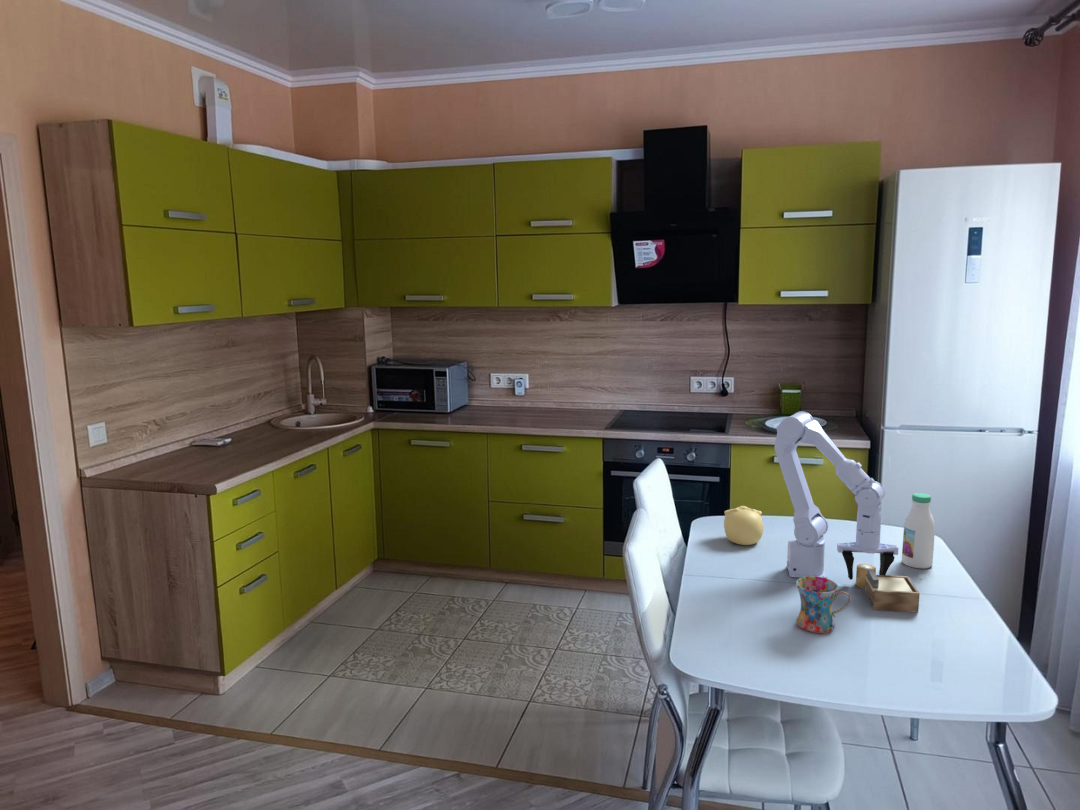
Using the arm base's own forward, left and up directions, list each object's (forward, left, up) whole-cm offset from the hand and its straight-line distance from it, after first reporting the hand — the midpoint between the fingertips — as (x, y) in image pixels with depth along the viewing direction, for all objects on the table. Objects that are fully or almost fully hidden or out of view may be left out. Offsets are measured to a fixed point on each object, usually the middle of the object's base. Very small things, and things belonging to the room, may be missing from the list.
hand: (865, 578), depth 200 cm
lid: (+3, -9, +2) cm, 10 cm away
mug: (-15, -25, -2) cm, 30 cm away
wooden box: (+4, -9, -2) cm, 10 cm away
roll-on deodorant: (0, 0, -2) cm, 2 cm away
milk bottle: (+17, +17, -2) cm, 24 cm away
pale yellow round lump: (-29, +29, -2) cm, 41 cm away
